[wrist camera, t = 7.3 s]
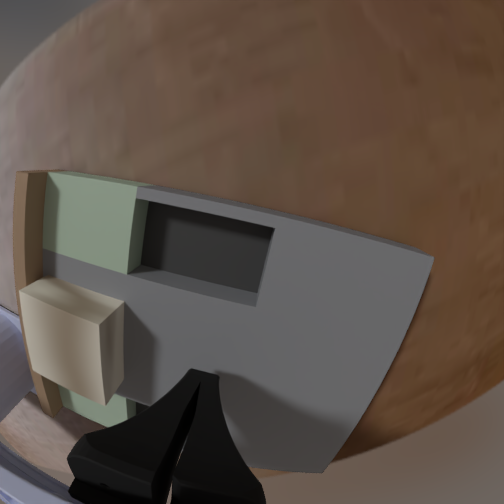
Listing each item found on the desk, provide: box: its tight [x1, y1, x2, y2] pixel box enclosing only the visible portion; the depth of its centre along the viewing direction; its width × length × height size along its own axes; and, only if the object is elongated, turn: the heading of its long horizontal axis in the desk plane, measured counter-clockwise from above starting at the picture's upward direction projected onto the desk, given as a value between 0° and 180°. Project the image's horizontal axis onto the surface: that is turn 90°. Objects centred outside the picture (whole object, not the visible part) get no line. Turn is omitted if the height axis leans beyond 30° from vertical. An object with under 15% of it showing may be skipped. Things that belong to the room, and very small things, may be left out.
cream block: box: [19, 275, 124, 406], centre depth 12 cm, size 5×5×2 cm
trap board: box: [13, 170, 434, 473], centre depth 14 cm, size 20×16×4 cm
